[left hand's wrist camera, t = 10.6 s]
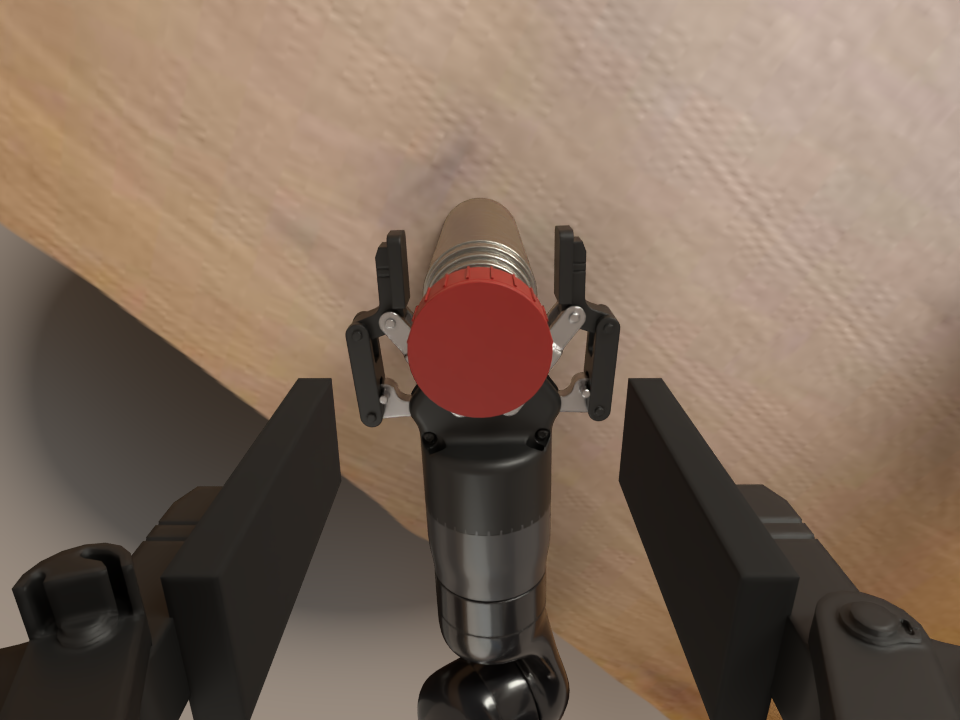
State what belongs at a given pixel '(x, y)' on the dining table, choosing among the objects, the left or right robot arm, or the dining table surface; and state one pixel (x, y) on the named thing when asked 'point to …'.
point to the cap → (479, 343)
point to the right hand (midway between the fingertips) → (479, 230)
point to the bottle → (480, 243)
